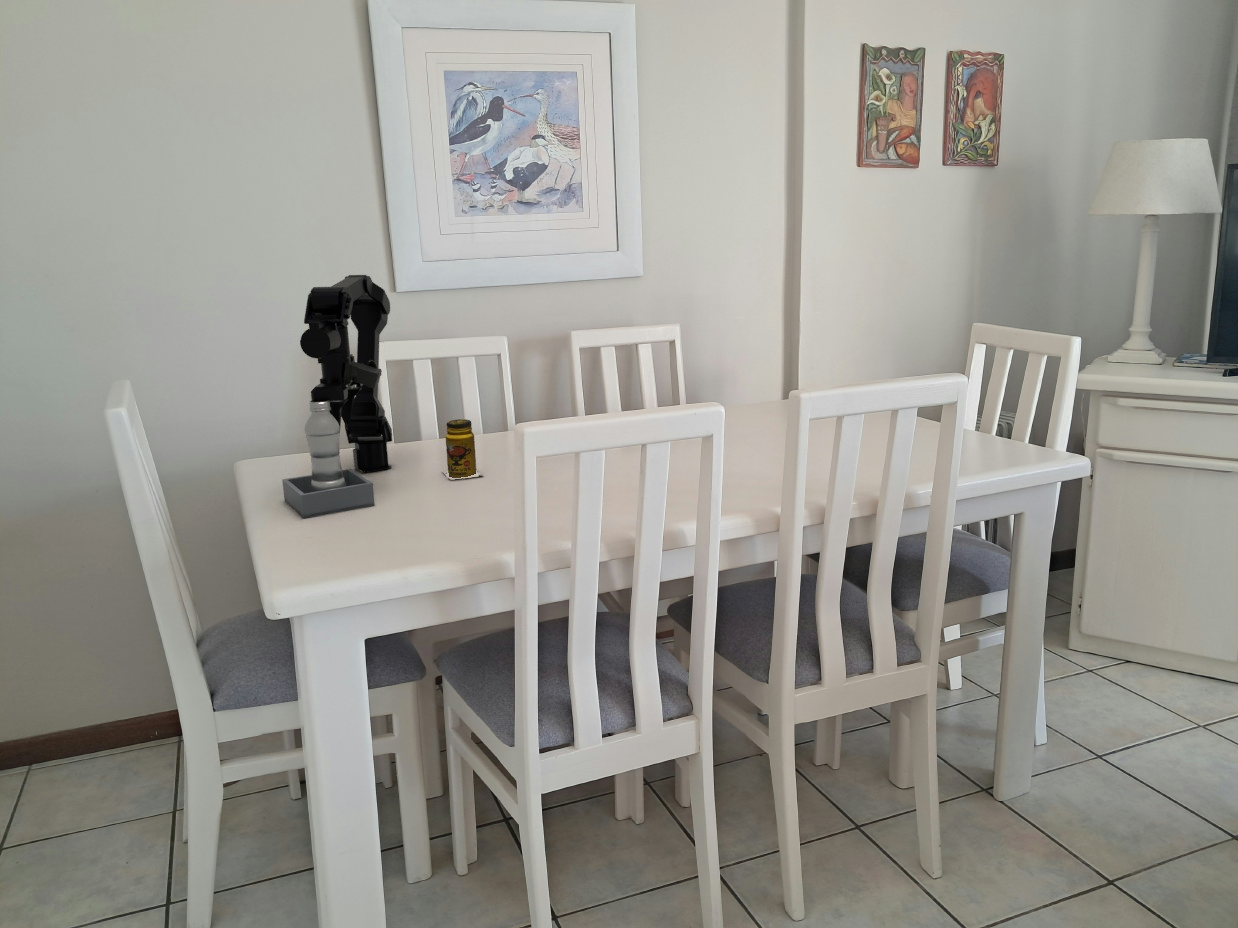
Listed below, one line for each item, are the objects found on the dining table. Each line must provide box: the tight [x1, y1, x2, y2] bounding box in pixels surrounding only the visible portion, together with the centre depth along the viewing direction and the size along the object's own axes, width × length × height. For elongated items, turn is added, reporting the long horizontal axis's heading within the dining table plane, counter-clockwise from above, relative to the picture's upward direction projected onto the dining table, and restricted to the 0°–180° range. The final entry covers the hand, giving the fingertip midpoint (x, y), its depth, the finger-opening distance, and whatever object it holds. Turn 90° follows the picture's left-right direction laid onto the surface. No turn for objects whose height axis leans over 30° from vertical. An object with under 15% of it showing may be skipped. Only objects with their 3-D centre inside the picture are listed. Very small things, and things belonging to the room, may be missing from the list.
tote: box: [281, 468, 376, 519], centre depth 181 cm, size 14×14×4 cm
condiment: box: [445, 418, 477, 478], centre depth 199 cm, size 7×8×12 cm
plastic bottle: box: [304, 399, 346, 492], centre depth 178 cm, size 6×7×20 cm
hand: (342, 428), depth 187 cm, fingers open, 9 cm apart
